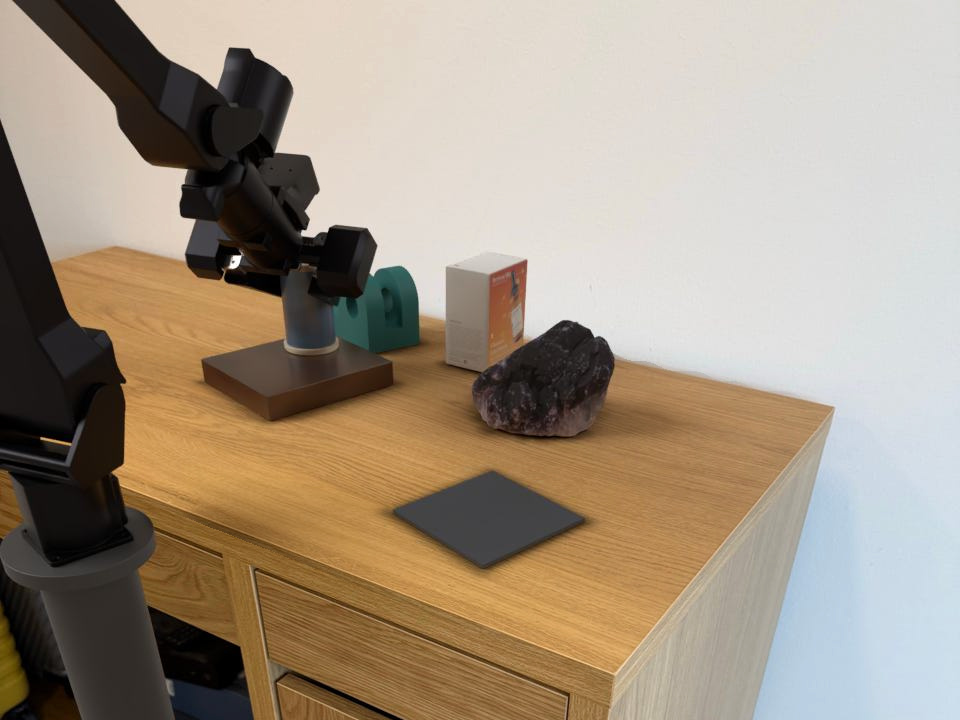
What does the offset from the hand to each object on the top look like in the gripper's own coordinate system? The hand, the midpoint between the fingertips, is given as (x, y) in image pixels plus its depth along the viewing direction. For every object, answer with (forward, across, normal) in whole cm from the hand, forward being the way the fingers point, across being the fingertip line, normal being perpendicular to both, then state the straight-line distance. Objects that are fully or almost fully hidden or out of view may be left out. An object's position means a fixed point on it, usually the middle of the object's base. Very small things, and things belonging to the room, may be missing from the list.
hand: (314, 299), depth 96 cm
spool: (+2, 0, +4) cm, 5 cm away
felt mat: (-13, -29, +23) cm, 39 cm away
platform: (+1, -1, +9) cm, 9 cm away
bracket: (+14, +2, -4) cm, 15 cm away
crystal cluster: (+3, -26, +8) cm, 28 cm away
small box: (+11, -16, -1) cm, 20 cm away
